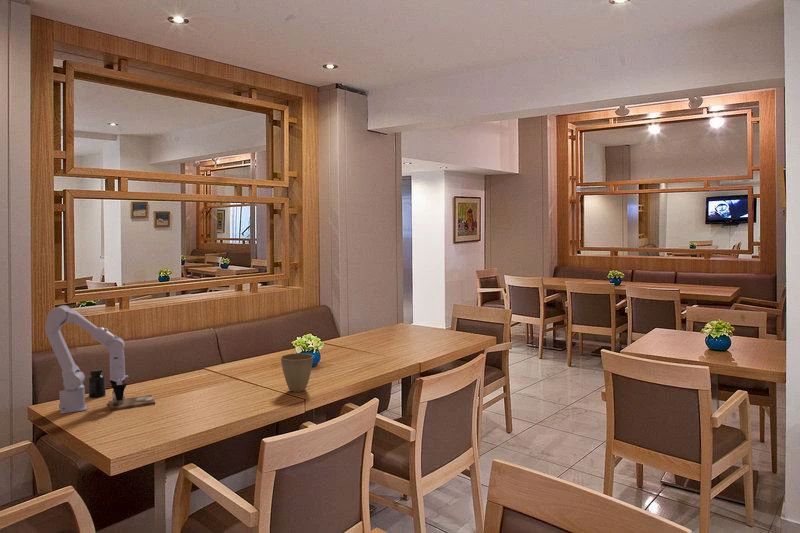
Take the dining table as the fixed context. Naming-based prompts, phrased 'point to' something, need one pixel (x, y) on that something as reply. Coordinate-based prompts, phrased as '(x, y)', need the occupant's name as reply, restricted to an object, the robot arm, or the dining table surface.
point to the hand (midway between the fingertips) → (118, 398)
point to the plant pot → (297, 370)
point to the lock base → (131, 402)
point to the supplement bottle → (96, 384)
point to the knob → (115, 396)
